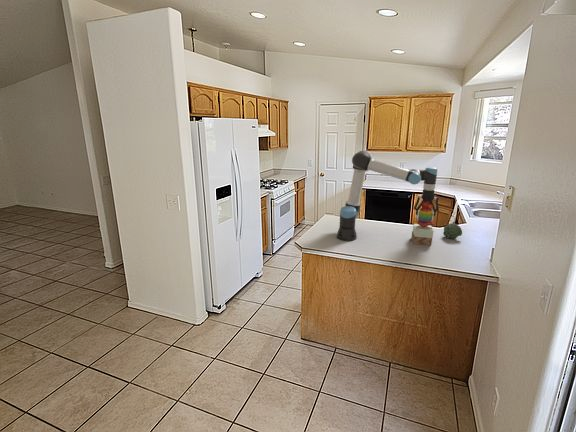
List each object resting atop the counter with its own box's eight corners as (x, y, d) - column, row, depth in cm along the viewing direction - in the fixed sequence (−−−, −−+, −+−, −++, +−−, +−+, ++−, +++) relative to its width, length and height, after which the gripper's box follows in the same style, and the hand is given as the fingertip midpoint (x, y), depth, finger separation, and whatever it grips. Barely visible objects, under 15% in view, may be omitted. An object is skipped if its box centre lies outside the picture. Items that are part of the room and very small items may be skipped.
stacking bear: (423, 227, 222) (427, 203, 216) (413, 222, 231) (416, 199, 225) (435, 225, 226) (438, 201, 220) (424, 221, 234) (427, 198, 229)
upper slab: (414, 236, 226) (415, 228, 224) (412, 231, 237) (413, 223, 235) (432, 238, 223) (433, 230, 222) (429, 232, 234) (430, 224, 233)
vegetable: (467, 235, 238) (462, 231, 228) (452, 244, 244) (447, 241, 233) (458, 222, 245) (452, 218, 234) (443, 231, 251) (437, 228, 240)
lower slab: (413, 244, 228) (414, 236, 226) (411, 238, 239) (412, 230, 238) (431, 245, 226) (432, 237, 224) (428, 239, 237) (429, 232, 235)
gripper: (413, 189, 219) (409, 220, 226) (446, 191, 214) (442, 222, 221) (411, 187, 226) (408, 216, 233) (444, 189, 221) (439, 219, 228)
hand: (424, 219), depth 227 cm, fingers closed on stacking bear, 9 cm apart
